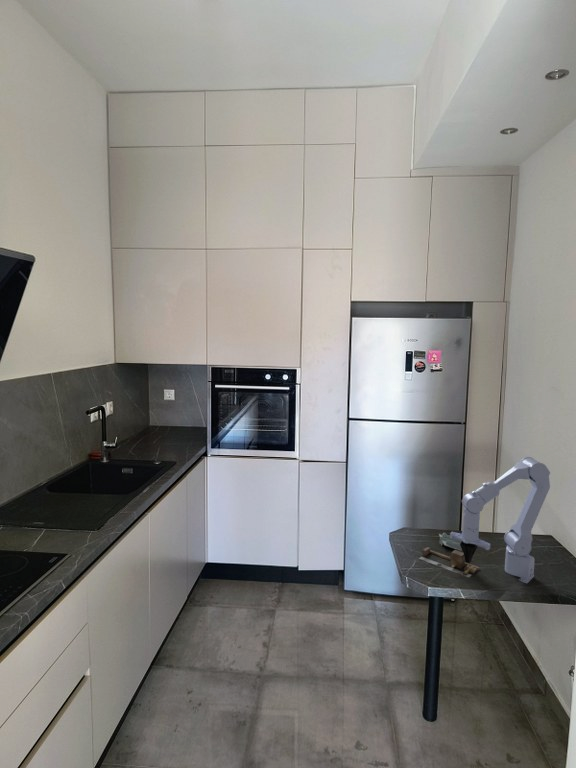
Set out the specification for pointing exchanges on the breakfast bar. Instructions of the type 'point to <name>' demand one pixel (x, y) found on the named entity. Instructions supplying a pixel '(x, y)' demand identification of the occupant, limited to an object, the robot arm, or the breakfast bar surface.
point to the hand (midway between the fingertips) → (468, 562)
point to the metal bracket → (450, 541)
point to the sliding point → (457, 559)
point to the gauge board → (467, 569)
